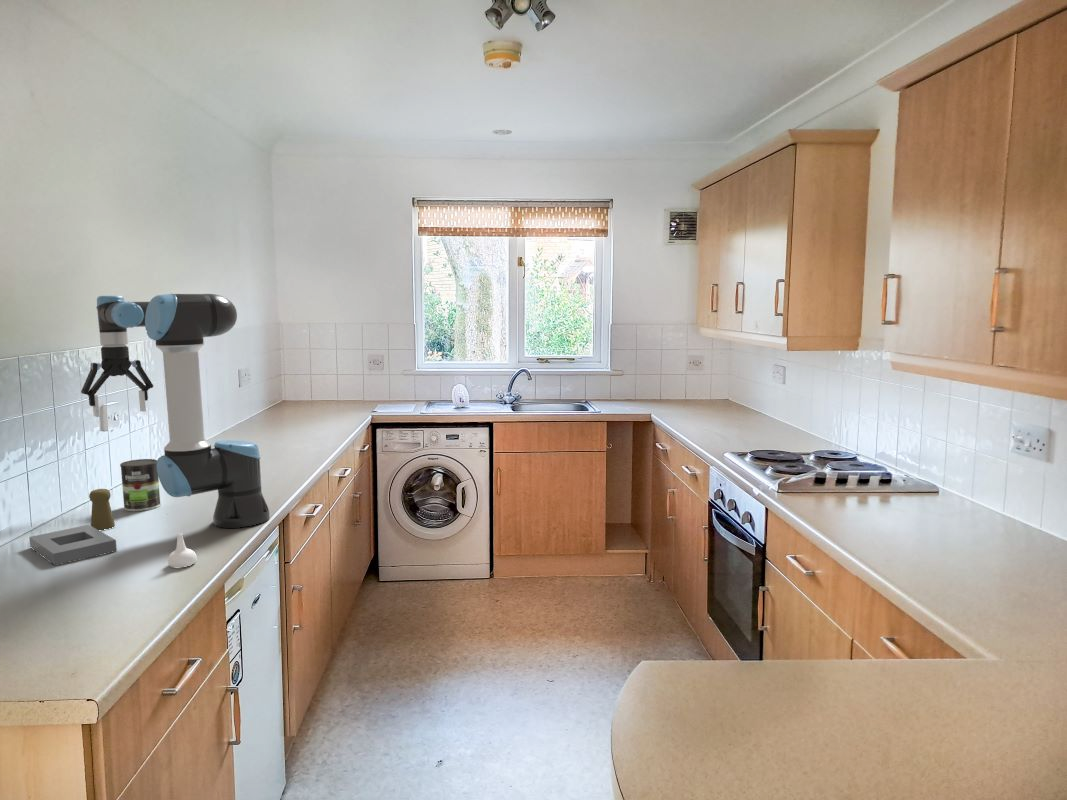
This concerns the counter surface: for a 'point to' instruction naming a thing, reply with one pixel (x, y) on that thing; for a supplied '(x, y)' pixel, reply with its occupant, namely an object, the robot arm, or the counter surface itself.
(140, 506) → the coffee can
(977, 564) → the counter surface
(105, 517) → the cork
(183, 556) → the garlic bulb
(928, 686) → the counter surface
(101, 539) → the dock board
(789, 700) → the counter surface
